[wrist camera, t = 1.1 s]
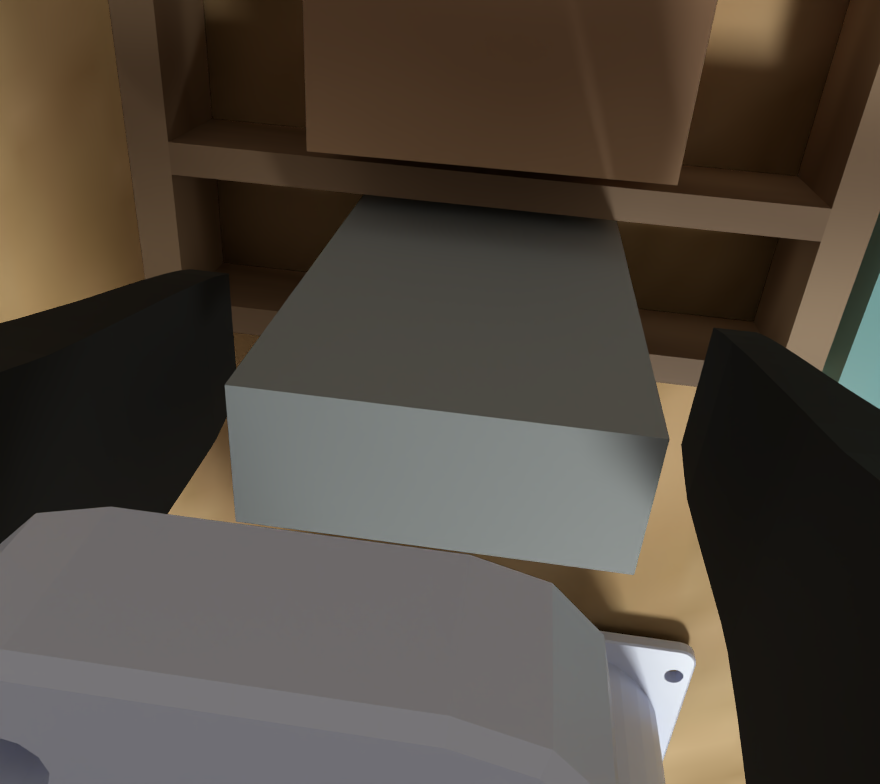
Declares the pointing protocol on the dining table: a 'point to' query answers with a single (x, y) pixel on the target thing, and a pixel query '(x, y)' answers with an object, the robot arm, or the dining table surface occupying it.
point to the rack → (507, 187)
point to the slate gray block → (456, 389)
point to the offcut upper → (508, 83)
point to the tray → (860, 330)
